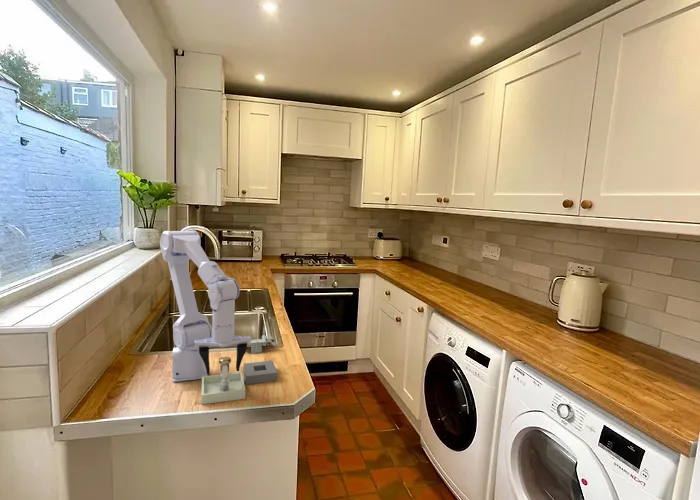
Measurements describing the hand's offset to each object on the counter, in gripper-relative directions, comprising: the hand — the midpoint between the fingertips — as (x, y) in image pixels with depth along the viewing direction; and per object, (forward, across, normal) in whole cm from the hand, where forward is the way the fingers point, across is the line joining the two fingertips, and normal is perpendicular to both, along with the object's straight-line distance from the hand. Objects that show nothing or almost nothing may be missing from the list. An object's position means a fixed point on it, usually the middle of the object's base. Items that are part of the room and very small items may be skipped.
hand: (223, 371), depth 103 cm
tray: (+6, 0, 0) cm, 6 cm away
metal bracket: (+7, +12, +32) cm, 34 cm away
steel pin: (+5, 0, 0) cm, 5 cm away
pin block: (+6, +11, +7) cm, 14 cm away
